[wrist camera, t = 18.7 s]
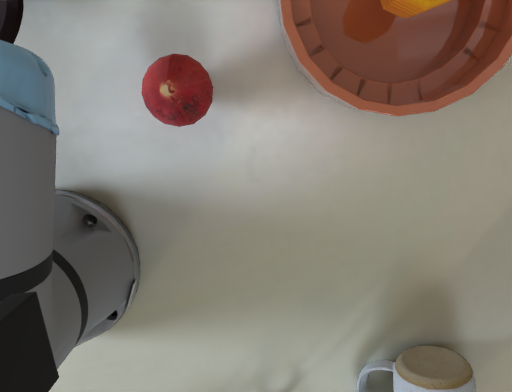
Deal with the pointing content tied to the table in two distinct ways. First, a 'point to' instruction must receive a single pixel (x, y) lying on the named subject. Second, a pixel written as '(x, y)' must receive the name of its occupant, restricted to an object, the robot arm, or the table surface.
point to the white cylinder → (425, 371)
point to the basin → (397, 51)
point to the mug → (10, 19)
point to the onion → (177, 90)
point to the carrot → (409, 6)
